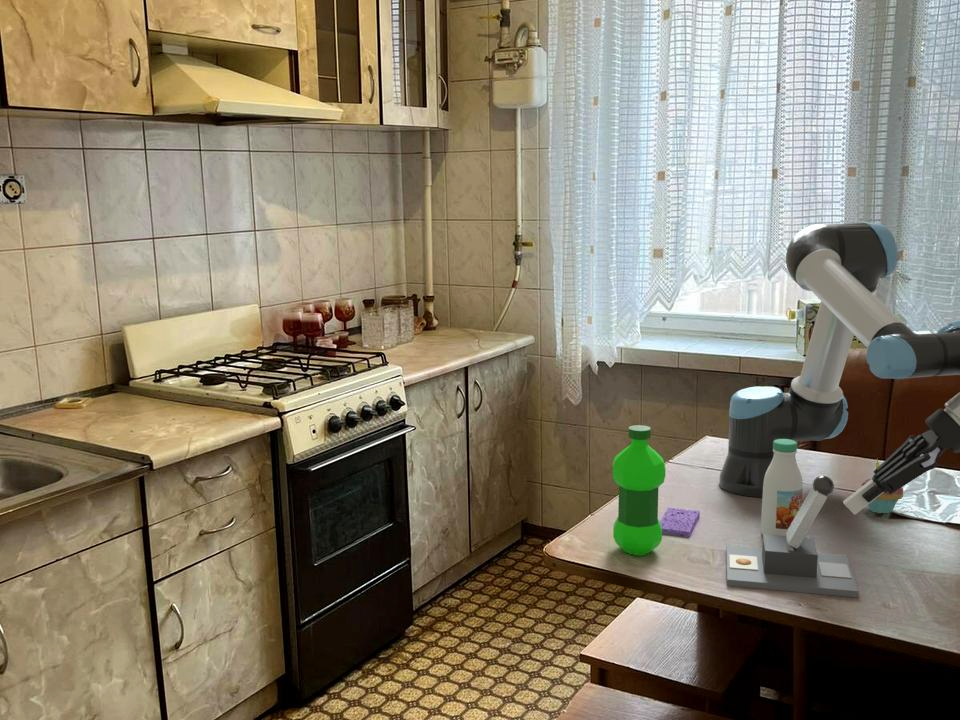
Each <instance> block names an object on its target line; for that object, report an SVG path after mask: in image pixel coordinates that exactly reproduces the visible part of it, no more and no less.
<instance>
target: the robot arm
mask: <svg viewBox="0 0 960 720" xmlns="http://www.w3.org/2000/svg"><path fill="white" fill-rule="evenodd" d="M898 256H899V251H898V245H897V242H896V239H895V236H894V234H893V233H892V232H891V230H890V229H889V228H888V227H887V226H885V225H883V224H881V223H878V222H877V223H875V222H867V221H862V222H851V223H850V222H849V223H845V222H843V223H817V224H816V223H815V224H812V225H810V226H807V227H805V228H803V229H802V230H800V231H799V232H798V233H796V234H795V236H794V237H793V238H792V239H791V241H790V242H789V244H788V246H787V250H786V254H785V263H786V269H787V270H788V273H789V275H790V277H791V278H792V280H793V281H794V282H795V283H796V284H797V285H798V286H799V287H800V288H801V289H802V290H805V291H807V292H812V293H813V294H814V295H815V296H816V297H817V299H819V300H820V302H819V303H820V304H819V307H818V309H817V310H818V311H817V314H816V318H815V321H814V325H813V329H812V333H811V335H810V340H809V343H808V346H807V351H806V354H805V357H804V362H803V365H802V369H801V372H800V375H798V376H796V377H794V378H793V379H792V380H791V382H790V386H789V390H788V391H787V392H783V391H782V389H781V388H779V387H776V386H768V385H767V386H761V385H760V386H750V387H746V388H745V387H744V388H742V389H740V390H737V391H736V392H735V393H734V394H732V396H731V398H730V404H729V409H728V415H729V416H728V417H729V418H728V419H729V421H728V427H729V428H728V452H727V455H726V458H725V460H724V463H723V465H722V468H721V471H720V474H719V482H718V483H719V487H721V488H722V489H723V490H724V491H727V492H730V493H731V494H736V495H741V496H745V497H747V496H748V497H755V498H756V497H757V498H761V497H763V483H764V477H765V473H766V471H767V469H768V467H769V465H770V464H771V462H772V459H773V456H774V452H773V442H774V440H777V439H789V440H793V441H796V442H807V441H813V442H814V441H817V442H820V441H823V440H827V439H828V440H829V439H833V438H835V437H837V436H839V434H841V433H842V432H843V430H844V429H845V427H846V425H847V423H848V419H849V417H848V416H849V411H847V409H848V407H849V406H848V402H847V398H846V397H845V396H844V391H843V390H842V388H841V387H840V386H839V385H840V382H841V378H842V375H843V372H844V369H845V366H846V362H847V360H848V359H847V358H848V356H849V352H850V350H851V346H852V342H853V340H854V336H855V338H856V339H858V340H859V341H860V342H861V343H862V345H864V347H865V348H866V354H865V355H866V356H865V357H866V358H865V359H866V363H867V365H869V370H870V372H871V373H872V374H873V375H874V376H875V377H877V378H879V379H883V380H884V379H893V380H904V379H914V378H926V377H942V376H943V377H944V376H957V375H958V376H960V320H954V321H952V322H951V323H949V324H945V325H943V326H941V328H939V330H938V331H937V332H934V333H919V334H918V333H915V332H914V331H913V330H912V329H911V328H910V327H908V326H907V324H906V323H904V322H903V321H902V320H901V319H900V318H899V317H898V316H897V315H896V314H895V313H893V312H892V310H890V309H889V307H887V306H886V305H885V304H884V303H883V302H882V301H881V300H880V299H879V298H877V296H875V294H873V293H874V292H875V291H876V290H877V287H878V283H879V282H880V281H879V280H880V279H885V278H887V277H889V276H890V275H892V274H893V273H894V272H895V269H896V267H897V265H898V259H899V257H898ZM944 407H945V408H944V409H943V408H938V409H937V410H935V412H933V413H932V414H930V415H929V416H928V417H927V418H926V419H925V420H924V421H925V425H927V426H928V427H929V429H927V430H926V431H925V432H922V433H920V434H918V435H917V436H915V435H914V434H911V435H909V436H908V438H907V439H906V440H905V441H904V442H903V444H901V446H899V447H898V448H897V449H896V450H895V451H894V452H893V453H892V454H891V455H889V456H888V458H886V459H885V460H884V461H883V462H882V463H881V464H879V467H878V468H877V469H876V468H875V470H873V476H872V478H870V479H871V480H870V481H868V482H867V483H866V484H865V485H863V486H862V487H859V488H858V489H857V490H855V491H854V492H853V493H852V494H850V495H849V496H847V497H846V498H845V499H843V501H842V502H843V505H844V506H845V507H846V508H847V509H848V510H849V511H850V512H851V513H852V514H853V515H854V516H855V515H857V514H859V512H861V511H862V510H863V509H865V508H866V507H868V504H870V503H871V502H872V501H874V500H875V499H876V498H878V497H879V496H880V495H881V494H883V493H884V492H885V493H886V492H888V493H889V494H892V493H893V492H895V491H896V490H898V489H900V488H901V487H902V488H903V487H904V486H906V485H907V484H909V483H911V482H912V481H915V480H916V479H917V478H919V477H920V476H922V475H923V474H925V473H926V472H929V471H931V470H933V469H935V468H937V467H938V466H939V463H938V462H937V460H938V459H939V458H940V457H941V456H942V455H943V453H944V452H946V450H948V449H950V450H951V451H952V452H953V453H956V454H958V453H960V391H959V392H958V393H957V394H955V395H954V396H952V398H950V399H948V400H947V402H945V403H944Z"/></svg>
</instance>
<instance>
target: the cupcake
mask: <svg viewBox="0 0 960 720" xmlns="http://www.w3.org/2000/svg"><path fill="white" fill-rule="evenodd" d="M879 466H880V461H879V460H878V458H876V461H875V467H876V468H875V469H877V468H878V467H879ZM871 479H872V478H868V479H866V480H865V481H864V482H862V483H861V487H862V486H863V485H865V484H866V483H867V482H868V481H870V480H871ZM861 487H860V488H861ZM903 497H904V488H903V487H901V488H900V489H898V490H896V491H895V492H893V493H892V494H889V493H888V492H886V493H885V492H884V493H883V494H881V495H880V496H879V497H878V498H876V499H875V500H874V501H872V502H871V503H870V504H868V505H867V507H868V510H869V511H870V512H873V513H875V512H877V513H876V514H881V513H888V514H891V513H893V511H894V509H895V507H896V504H897V503H898V501H899V500H902V498H903ZM890 512H891V513H890Z"/></svg>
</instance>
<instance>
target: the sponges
mask: <svg viewBox="0 0 960 720" xmlns="http://www.w3.org/2000/svg"><path fill="white" fill-rule="evenodd" d="M700 513H701V512H700V510H696V509H695V510H694V509H686V508H685V509H683V508H675V507H667V508H666V510H665V512H664V514H663V516H661V518H660V520H659V522H660V525H661V527H662V533H665V534H664V535H669V534H671V536H679V537H686V538H690V537H691V535H692V533H693V530H694V529H695V526H696V525H697V523H698V521H699V518H700V517H701V516H700Z"/></svg>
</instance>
